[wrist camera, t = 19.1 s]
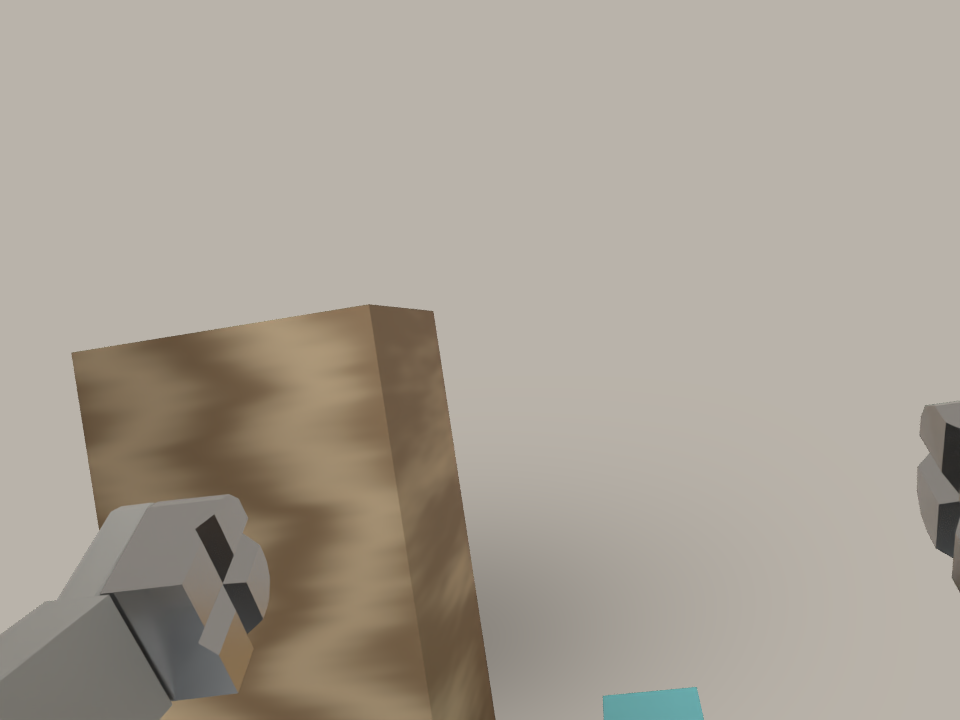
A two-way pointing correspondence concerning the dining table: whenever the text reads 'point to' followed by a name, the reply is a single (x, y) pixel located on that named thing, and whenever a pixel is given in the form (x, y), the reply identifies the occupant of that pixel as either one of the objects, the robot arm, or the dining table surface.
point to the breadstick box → (654, 705)
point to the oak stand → (311, 502)
